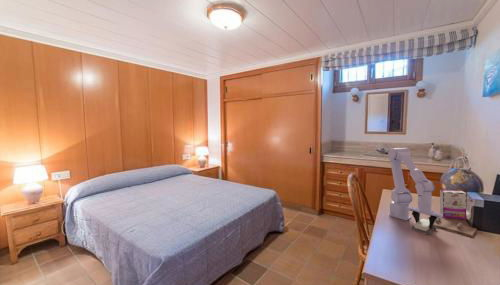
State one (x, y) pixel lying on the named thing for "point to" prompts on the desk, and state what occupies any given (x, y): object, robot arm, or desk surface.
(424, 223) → the shelf board
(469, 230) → the peg stand
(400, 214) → the robot arm
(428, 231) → the battens
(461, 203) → the candy bar box
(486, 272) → the desk surface
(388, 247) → the desk surface
